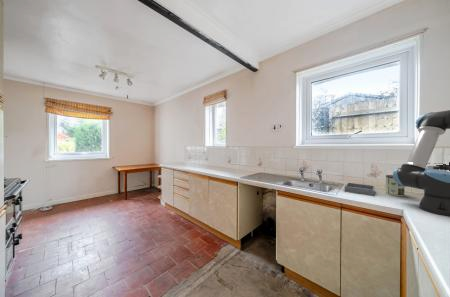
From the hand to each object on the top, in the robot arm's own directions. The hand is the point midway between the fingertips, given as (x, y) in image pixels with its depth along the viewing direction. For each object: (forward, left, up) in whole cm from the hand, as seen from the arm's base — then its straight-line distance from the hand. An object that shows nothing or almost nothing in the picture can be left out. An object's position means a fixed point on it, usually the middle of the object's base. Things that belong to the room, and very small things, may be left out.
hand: (417, 166), depth 122 cm
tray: (+15, +31, -22) cm, 41 cm away
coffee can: (+5, +12, -22) cm, 26 cm away
